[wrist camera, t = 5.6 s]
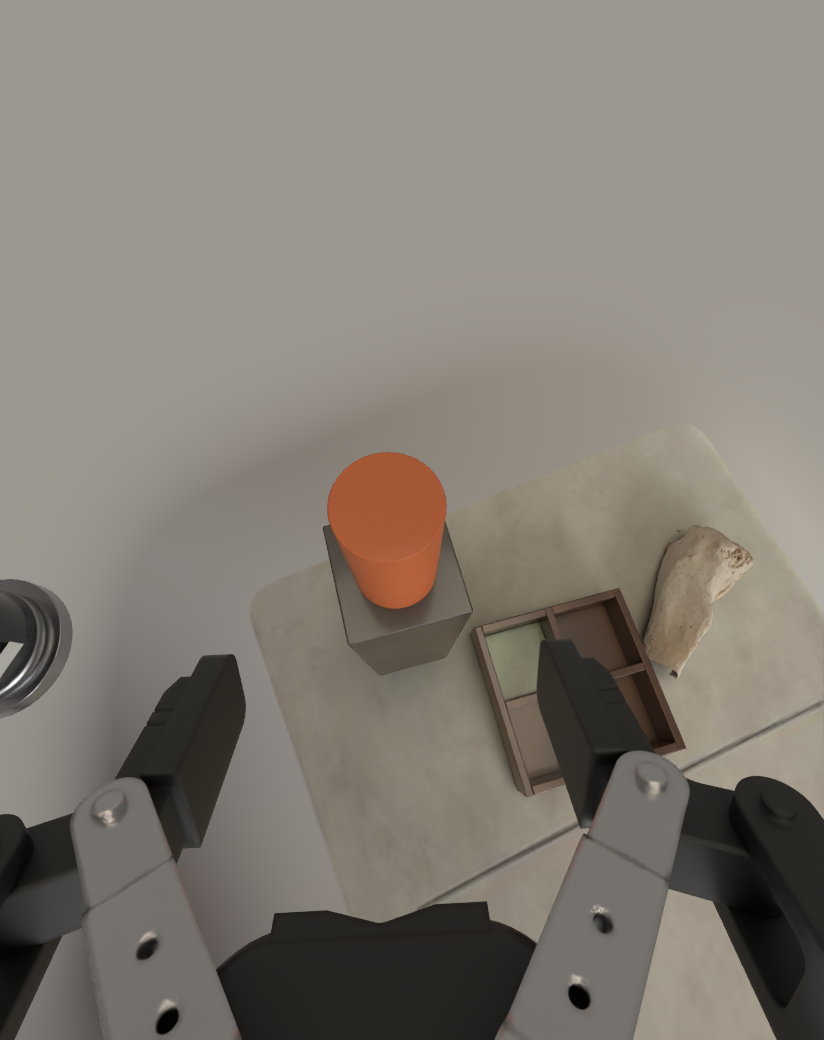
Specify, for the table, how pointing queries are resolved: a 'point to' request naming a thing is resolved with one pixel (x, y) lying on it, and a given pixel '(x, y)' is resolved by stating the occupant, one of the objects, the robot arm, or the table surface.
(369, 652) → the stand
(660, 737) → the grid
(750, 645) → the table surface
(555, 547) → the table surface
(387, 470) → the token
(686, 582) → the bone fragment
